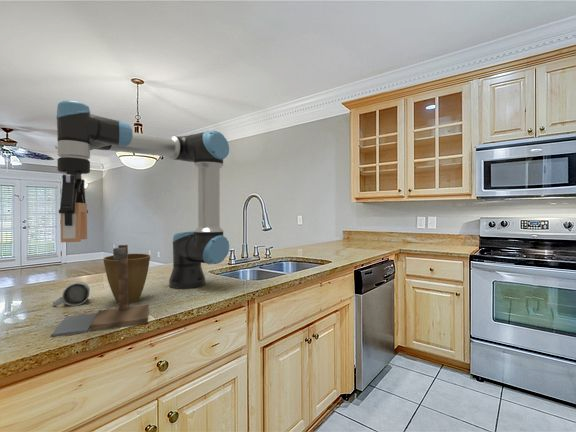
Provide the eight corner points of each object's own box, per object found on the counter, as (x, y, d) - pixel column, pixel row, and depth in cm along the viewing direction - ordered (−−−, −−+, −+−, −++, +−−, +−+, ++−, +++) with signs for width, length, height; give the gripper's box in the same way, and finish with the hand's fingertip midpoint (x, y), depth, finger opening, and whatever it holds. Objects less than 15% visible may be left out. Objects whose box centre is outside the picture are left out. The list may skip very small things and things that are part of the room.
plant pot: (97, 301, 110) (96, 256, 110) (139, 293, 122) (139, 252, 122) (114, 309, 101) (113, 260, 101) (158, 299, 112) (157, 255, 112)
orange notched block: (71, 239, 91) (70, 203, 91) (87, 238, 93) (86, 203, 93) (60, 242, 81) (60, 202, 81) (78, 241, 83) (78, 202, 83)
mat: (97, 314, 96) (97, 312, 96) (87, 332, 82) (87, 329, 82) (66, 318, 93) (66, 316, 93) (50, 336, 79) (50, 334, 79)
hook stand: (148, 309, 101) (147, 242, 101) (147, 324, 88) (146, 247, 87) (98, 315, 96) (98, 244, 95) (89, 332, 82) (88, 250, 82)
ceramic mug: (90, 298, 114) (89, 277, 114) (89, 304, 107) (88, 282, 107) (54, 303, 109) (53, 281, 109) (51, 309, 102) (50, 286, 102)
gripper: (68, 163, 96) (69, 234, 96) (43, 149, 75) (44, 240, 75) (96, 165, 99) (97, 233, 99) (80, 152, 78) (81, 239, 78)
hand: (74, 236), depth 87 cm, fingers closed on orange notched block, 11 cm apart
